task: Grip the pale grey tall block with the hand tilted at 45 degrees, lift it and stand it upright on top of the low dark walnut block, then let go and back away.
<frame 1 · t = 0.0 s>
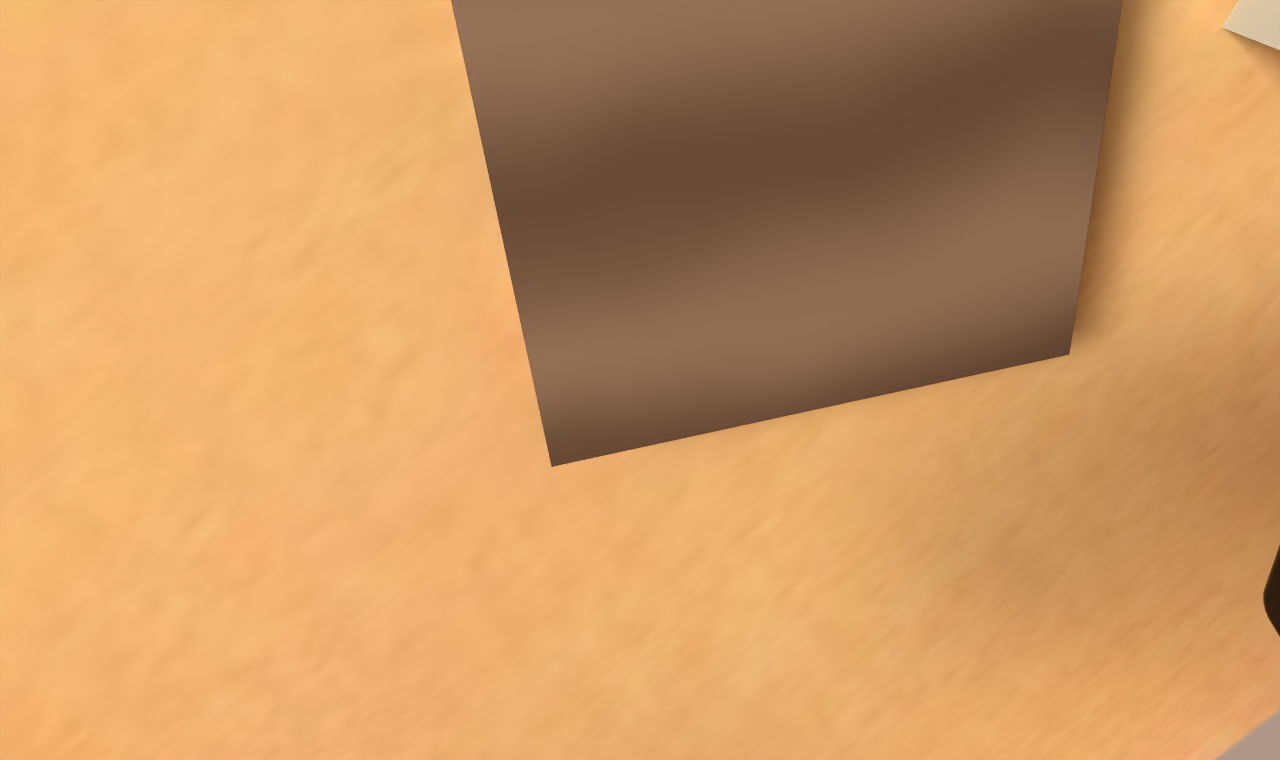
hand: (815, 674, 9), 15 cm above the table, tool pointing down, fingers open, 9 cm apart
walnut block: (757, 96, 22), on the table
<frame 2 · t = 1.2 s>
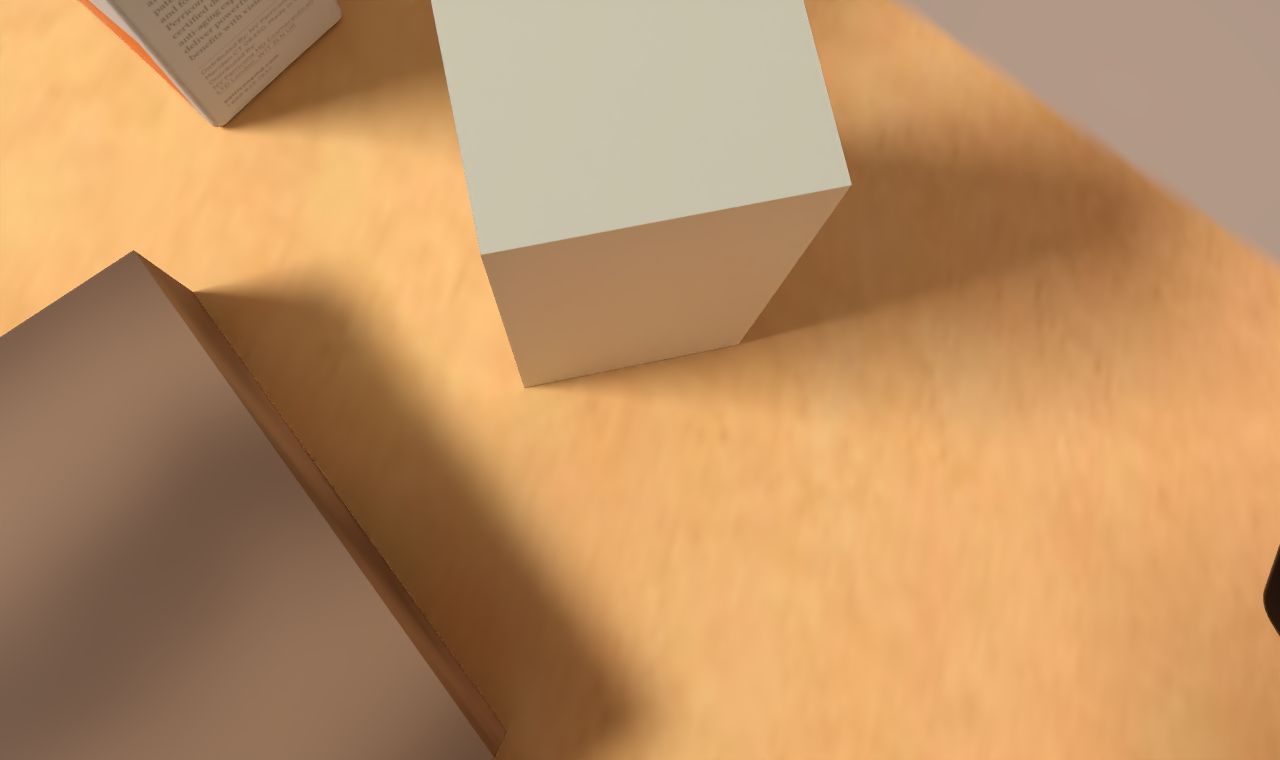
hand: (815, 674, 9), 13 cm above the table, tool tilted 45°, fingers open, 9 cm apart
pale grey tall block: (609, 262, 24), on the table
walnut block: (114, 676, 22), on the table
skincare box: (201, 3, 24), on the table
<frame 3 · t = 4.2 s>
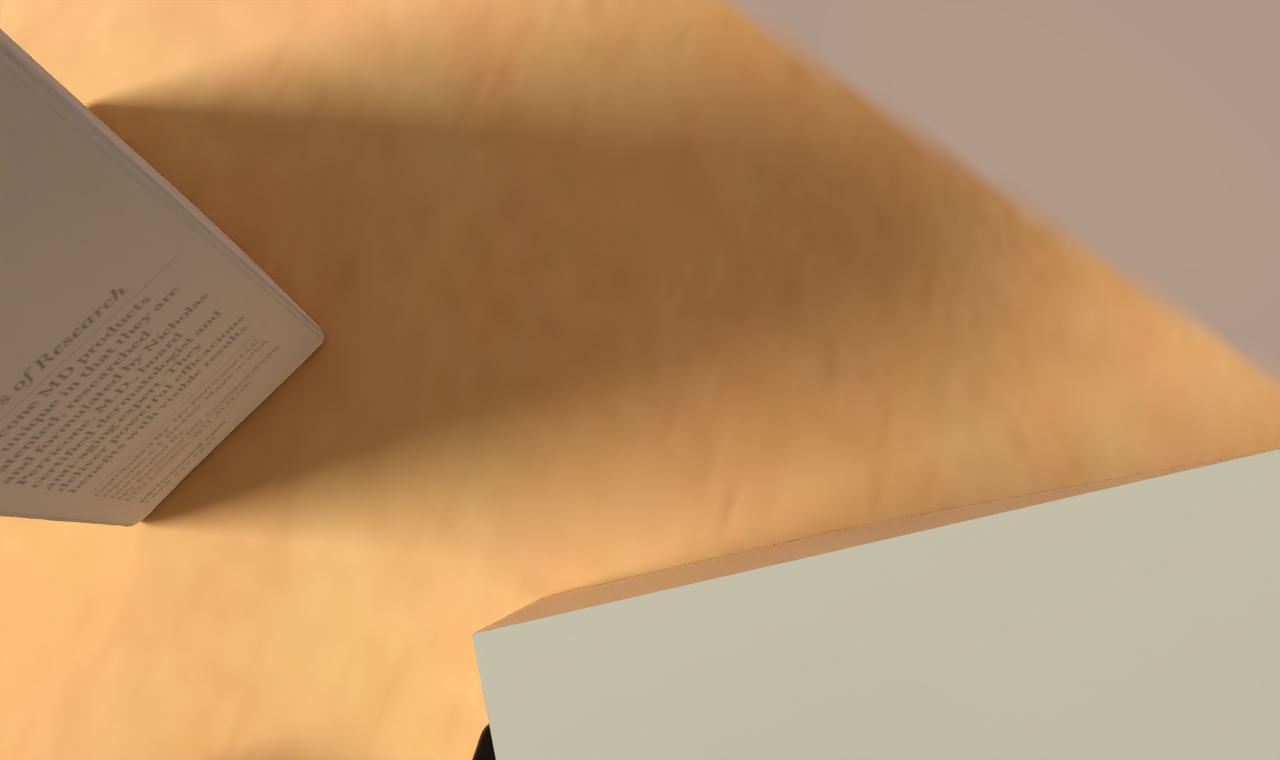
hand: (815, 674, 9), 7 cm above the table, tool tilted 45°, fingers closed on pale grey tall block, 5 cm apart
pale grey tall block: (738, 726, 15), on the table, touching gripper
skincare box: (112, 316, 16), on the table
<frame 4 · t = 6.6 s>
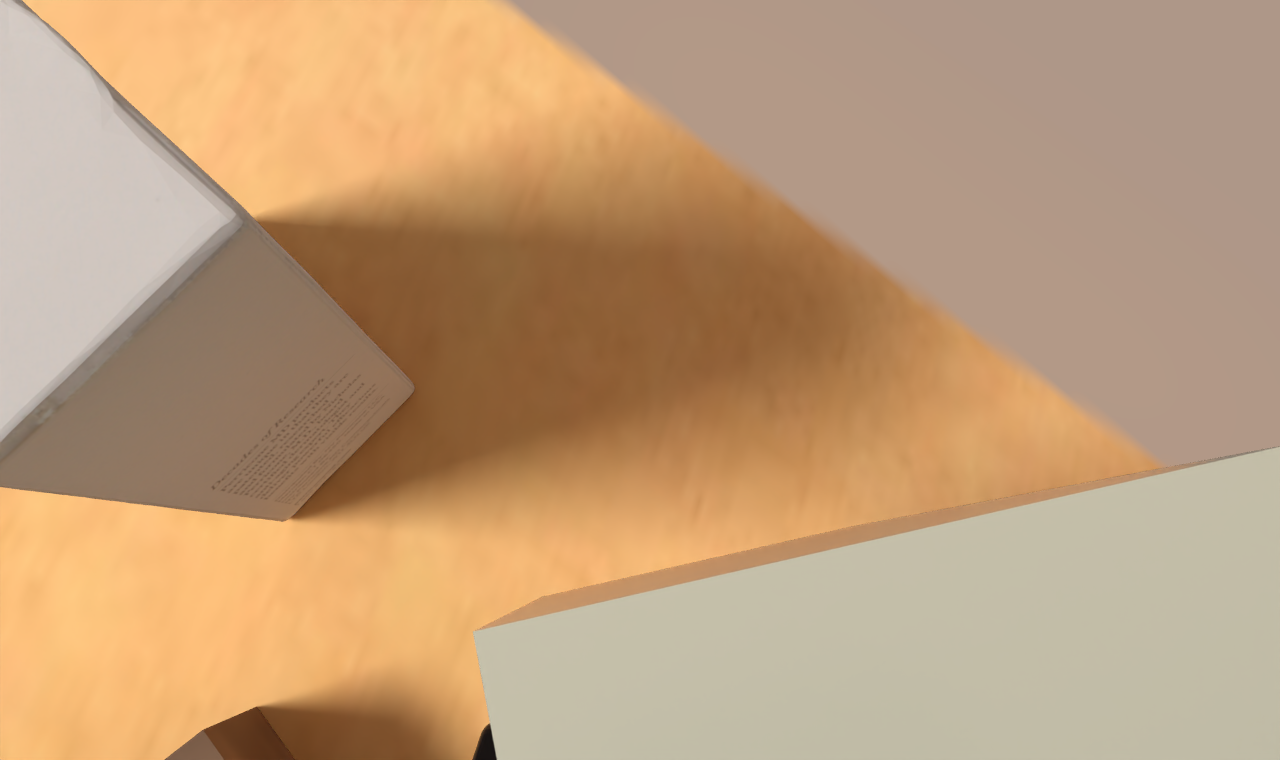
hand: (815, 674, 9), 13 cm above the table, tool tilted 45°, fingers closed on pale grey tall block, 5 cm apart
pale grey tall block: (738, 725, 15), point 7 cm above the table, touching gripper
skincare box: (264, 373, 23), on the table
when the fingers open (11 cm above the table, at t = 9.0 s): pale grey tall block drops 1 cm, resting on walnut block.
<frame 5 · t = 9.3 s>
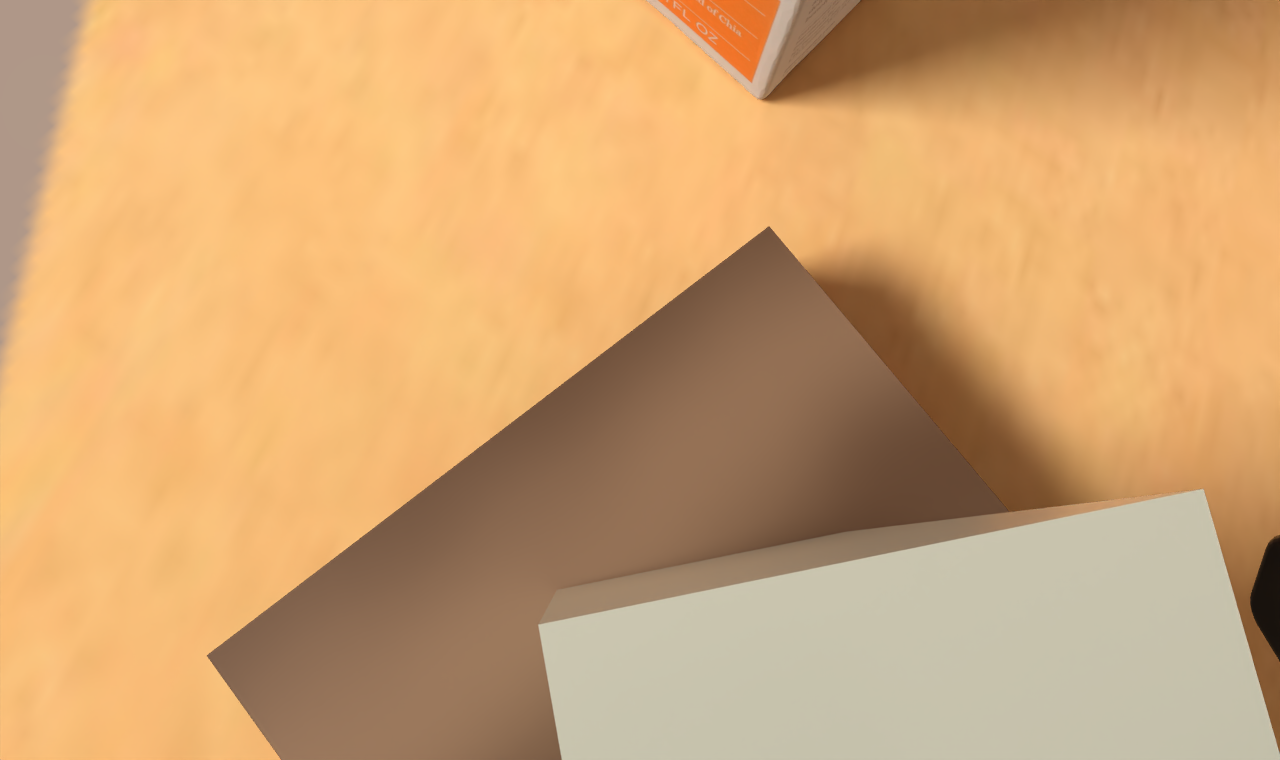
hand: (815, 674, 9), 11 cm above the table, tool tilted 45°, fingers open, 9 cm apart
pale grey tall block: (733, 711, 17), point 3 cm above the table, touching walnut block
walnut block: (700, 688, 20), on the table, touching pale grey tall block
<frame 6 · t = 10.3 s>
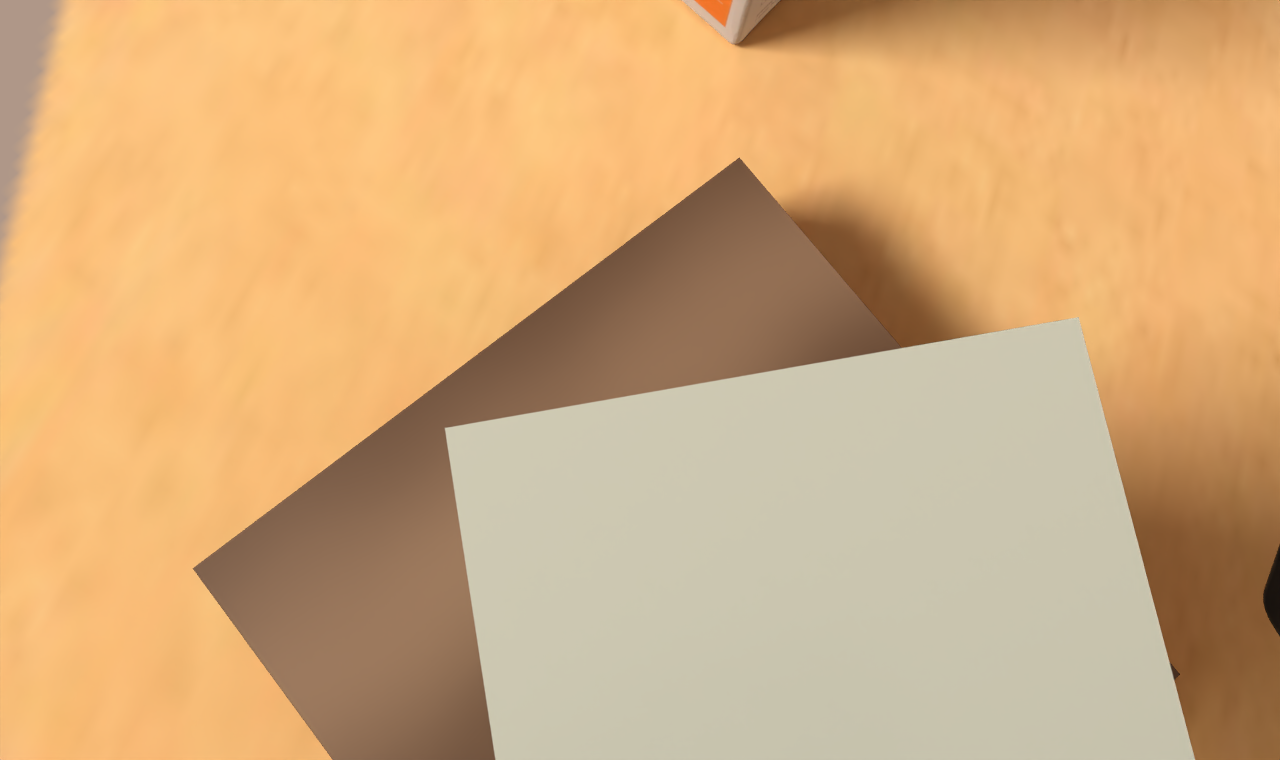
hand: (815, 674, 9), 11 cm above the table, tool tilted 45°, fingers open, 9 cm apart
pale grey tall block: (698, 622, 17), point 3 cm above the table, touching walnut block
walnut block: (676, 614, 21), on the table, touching pale grey tall block
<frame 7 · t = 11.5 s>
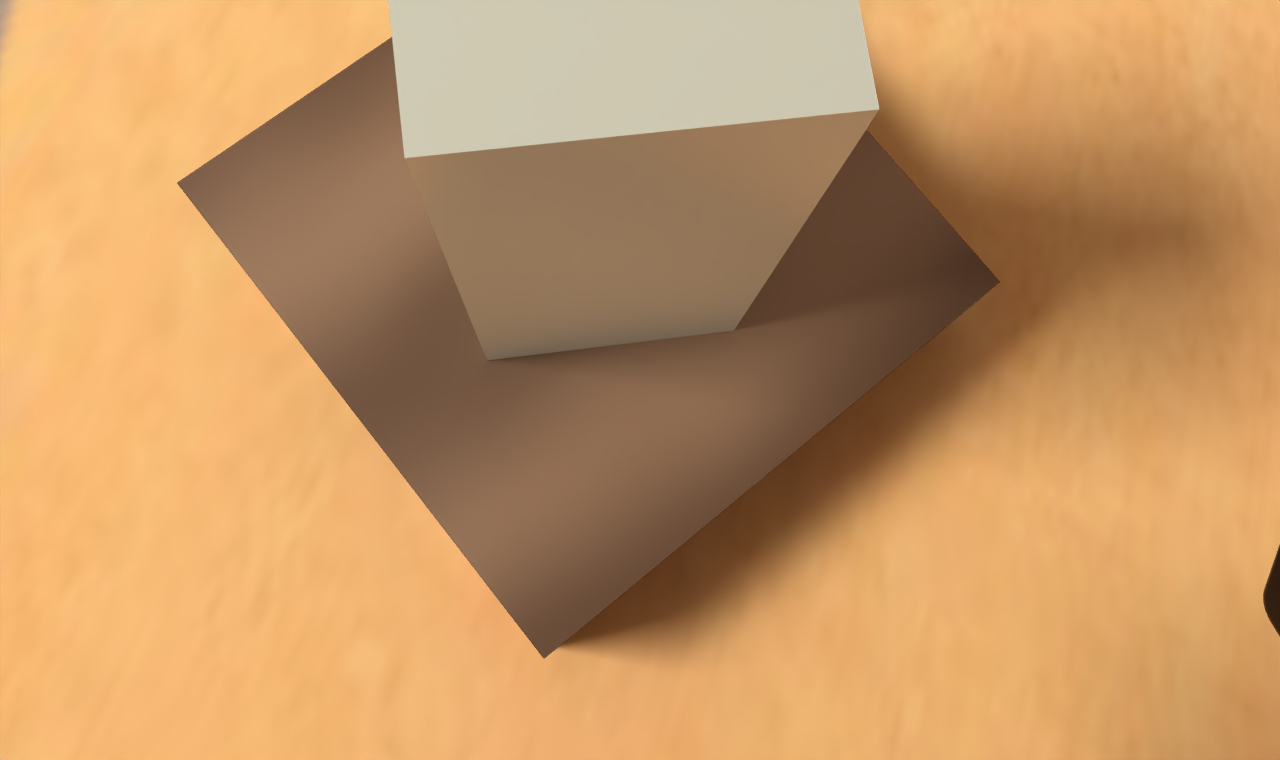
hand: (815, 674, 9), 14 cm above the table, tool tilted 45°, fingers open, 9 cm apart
pale grey tall block: (595, 227, 21), point 3 cm above the table, touching walnut block
walnut block: (592, 281, 24), on the table, touching pale grey tall block
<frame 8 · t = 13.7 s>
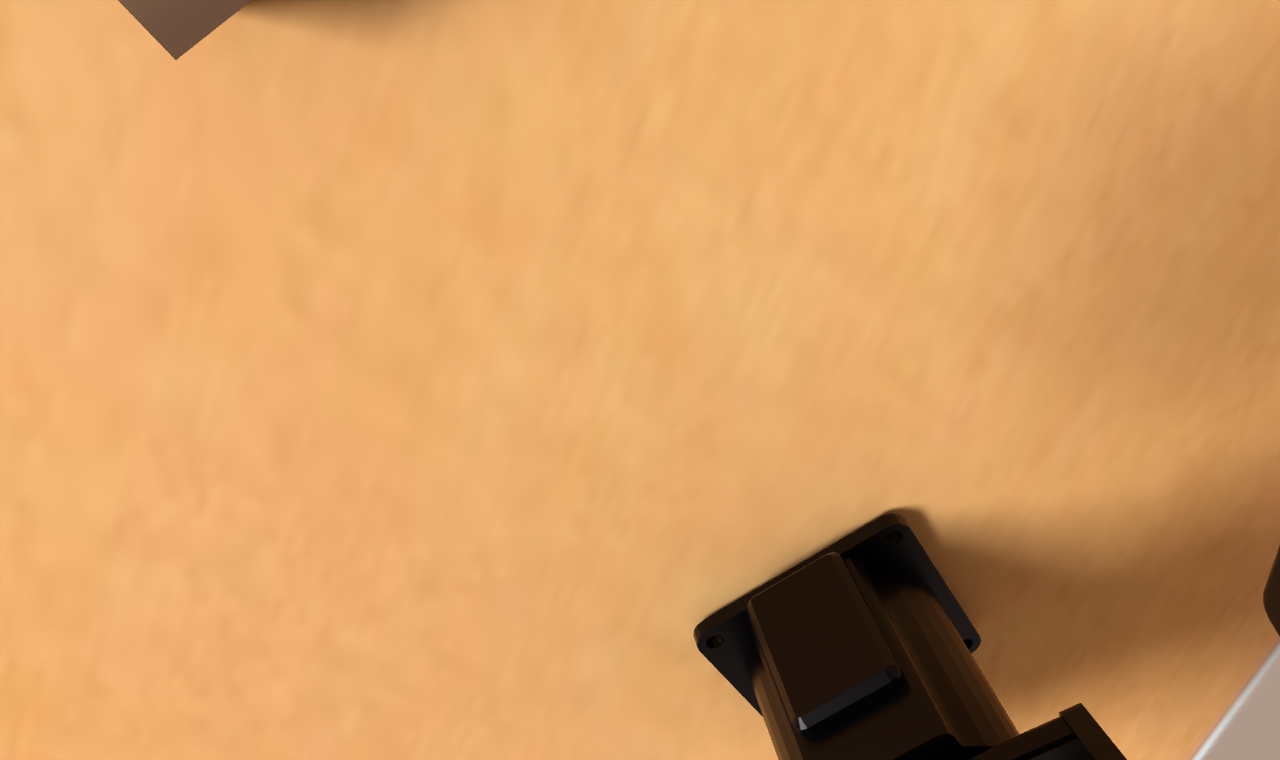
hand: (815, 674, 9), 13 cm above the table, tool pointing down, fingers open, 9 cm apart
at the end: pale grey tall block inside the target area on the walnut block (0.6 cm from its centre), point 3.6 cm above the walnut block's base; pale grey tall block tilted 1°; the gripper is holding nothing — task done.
